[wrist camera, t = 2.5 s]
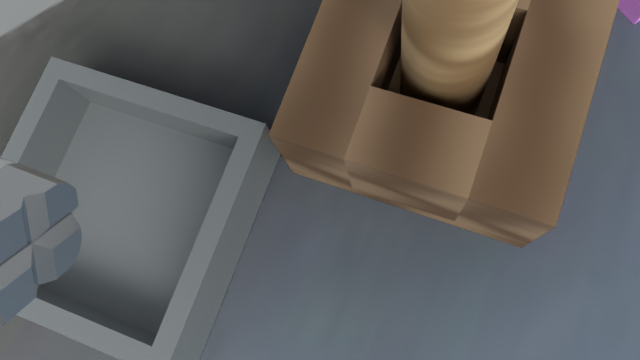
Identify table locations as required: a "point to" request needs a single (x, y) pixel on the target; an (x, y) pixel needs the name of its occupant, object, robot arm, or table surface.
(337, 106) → the walnut holder
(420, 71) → the oak dowel
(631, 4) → the bracket
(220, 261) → the grey tray
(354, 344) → the table surface
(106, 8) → the table surface
